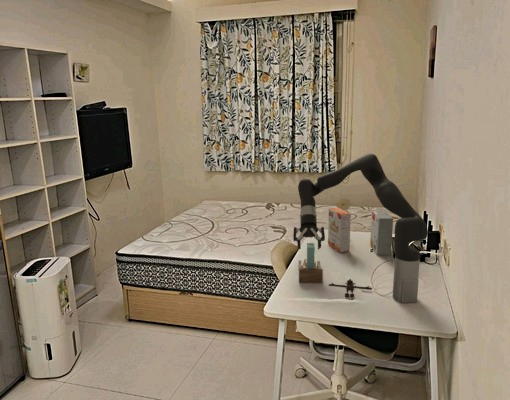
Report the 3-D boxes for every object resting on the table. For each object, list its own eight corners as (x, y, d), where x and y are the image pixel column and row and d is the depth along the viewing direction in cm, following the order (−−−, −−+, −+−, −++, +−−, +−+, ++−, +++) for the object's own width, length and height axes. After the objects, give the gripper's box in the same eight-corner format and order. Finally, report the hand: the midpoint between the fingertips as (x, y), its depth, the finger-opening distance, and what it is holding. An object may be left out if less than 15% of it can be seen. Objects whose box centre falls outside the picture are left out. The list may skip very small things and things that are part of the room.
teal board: (313, 280, 187) (314, 247, 184) (307, 280, 187) (307, 247, 184) (313, 274, 193) (313, 243, 189) (306, 274, 193) (307, 243, 190)
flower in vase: (324, 238, 245) (325, 196, 240) (337, 234, 252) (338, 193, 247) (342, 244, 235) (344, 200, 230) (355, 240, 243) (357, 197, 237)
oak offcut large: (316, 273, 195) (316, 268, 194) (303, 272, 195) (303, 267, 194) (315, 267, 201) (315, 262, 201) (302, 267, 202) (303, 262, 201)
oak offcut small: (315, 266, 195) (315, 262, 195) (305, 267, 195) (305, 262, 195) (313, 262, 200) (313, 258, 200) (304, 262, 200) (304, 258, 200)
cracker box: (327, 244, 236) (328, 207, 231) (337, 243, 237) (338, 207, 233) (339, 253, 223) (340, 214, 218) (349, 251, 224) (351, 213, 220)
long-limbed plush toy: (326, 291, 172) (329, 274, 185) (326, 301, 173) (329, 283, 187) (373, 295, 168) (372, 277, 181) (372, 305, 169) (371, 286, 183)
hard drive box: (369, 245, 234) (371, 210, 229) (383, 245, 233) (385, 210, 229) (376, 255, 218) (378, 218, 214) (391, 255, 218) (394, 218, 214)
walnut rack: (322, 285, 184) (322, 270, 182) (299, 284, 185) (299, 269, 183) (319, 267, 203) (320, 253, 202) (298, 267, 204) (298, 253, 203)
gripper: (323, 221, 203) (324, 252, 195) (293, 221, 204) (293, 252, 196) (324, 213, 197) (325, 245, 188) (293, 213, 198) (293, 245, 190)
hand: (309, 248), depth 192 cm, fingers open, 8 cm apart
